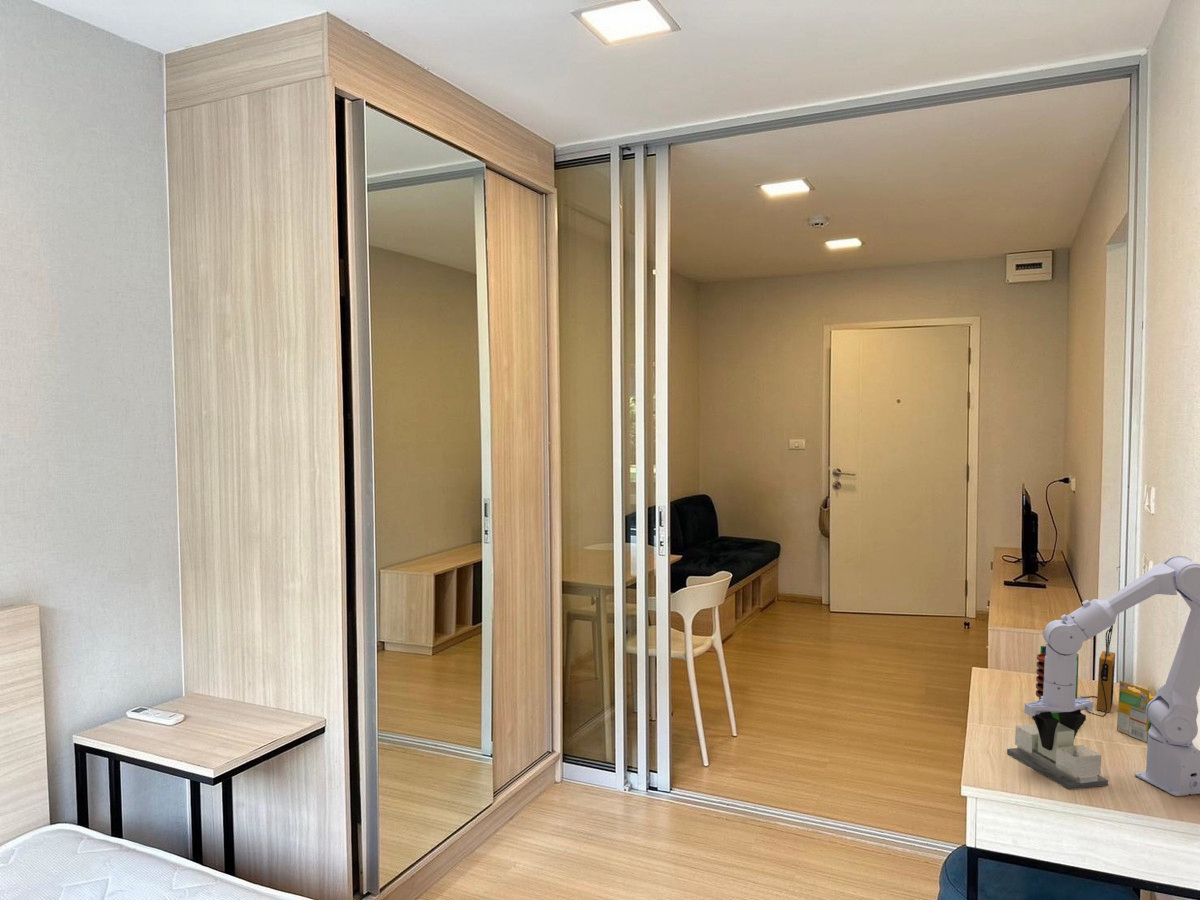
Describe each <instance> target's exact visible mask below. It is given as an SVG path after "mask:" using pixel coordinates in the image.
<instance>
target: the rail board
mask: <svg viewBox="0 0 1200 900" xmlns="http://www.w3.org/2000/svg"><path fill="white" fill-rule="evenodd" d="M1038 734H1039V731H1038V728H1037V726H1036V723H1032V724H1031V723H1030V724H1021V725H1015V735H1014V745H1015V746H1017V747H1015V748H1014V747H1012V748H1007V749H1006V754H1007V755H1009V756H1010V757H1012V758H1014V759H1016V760H1018V761H1019V762H1021V763H1022V764H1024V765H1026V766H1028V767H1029V768H1031V769H1033V770H1035V771H1036V772H1037V773H1040V774H1042V775H1043V776H1045V777H1047V778H1048V779H1050V780H1051V781H1053V782H1055V783H1057V784H1058V785H1060V786H1062V787H1063V788H1065V789H1067V790H1076V789H1077V790H1078V789H1084V788H1085V787H1087V788H1093V787H1094V786H1096V787H1103V786H1108V785H1109V779H1107V778H1106V777H1103V776H1102V775H1101V770H1102V769H1101V768H1102V754H1101V753H1098V752H1097V751H1095V750H1093V749H1091V748H1089V747H1086V746H1085V745H1084V744H1080V745H1079V744H1078V745H1074V746H1066V747H1057V750H1056V761H1054V760H1052V759H1050V758H1048V757H1047V756H1045V755H1043V754H1041V753H1039V752H1038Z"/></svg>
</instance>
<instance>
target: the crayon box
mask: <svg viewBox="0 0 1200 900" xmlns="http://www.w3.org/2000/svg"><path fill="white" fill-rule="evenodd" d="M1129 687H1130V688H1129ZM1133 688H1134V689H1133ZM1154 697H1155V695H1151V694H1150V690H1149V689H1146V688H1143V687H1140V686H1138V685H1134V684H1131V683H1129V682H1125V681H1122V680H1119V690H1118V703H1117V705H1118V706H1117V718H1116V720H1117V721H1116V731H1117V732H1119V733H1123V734H1125V735H1127V736H1130V737H1132V738H1135V739H1137V740H1140V741H1143V742H1144V743H1148V731H1149V729H1150V727H1151V724H1152V723H1151V722H1150V721H1149V720H1148V719H1147V716H1146V706H1147V704H1148V703H1149V702H1150V701H1151V700H1152V699H1153V698H1154Z"/></svg>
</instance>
